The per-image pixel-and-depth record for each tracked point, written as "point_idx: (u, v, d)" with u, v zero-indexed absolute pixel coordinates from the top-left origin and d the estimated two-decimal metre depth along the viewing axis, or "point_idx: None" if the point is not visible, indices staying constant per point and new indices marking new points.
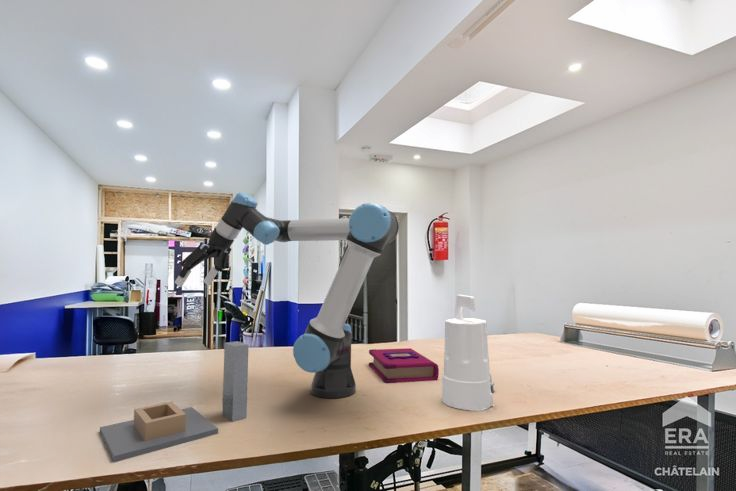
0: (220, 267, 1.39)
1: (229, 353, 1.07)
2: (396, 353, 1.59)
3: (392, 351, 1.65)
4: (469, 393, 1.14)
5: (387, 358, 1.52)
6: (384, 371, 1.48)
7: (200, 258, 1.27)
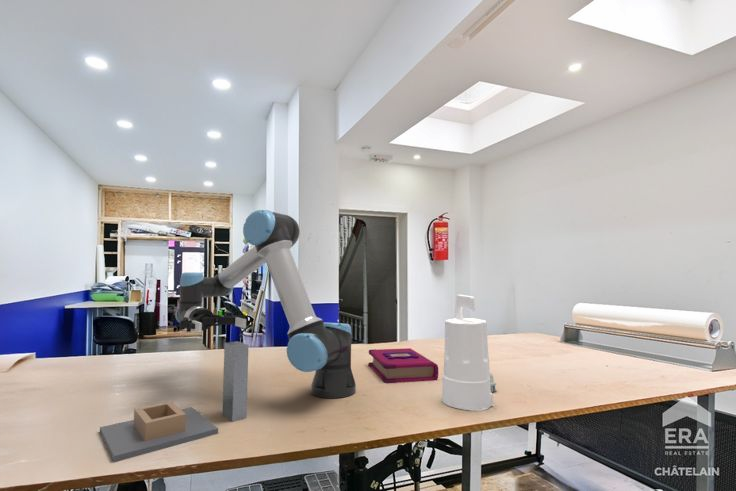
0: (235, 317, 1.27)
1: (229, 353, 1.07)
2: (396, 353, 1.59)
3: (392, 351, 1.65)
4: (469, 393, 1.14)
5: (387, 358, 1.52)
6: (384, 371, 1.47)
7: None
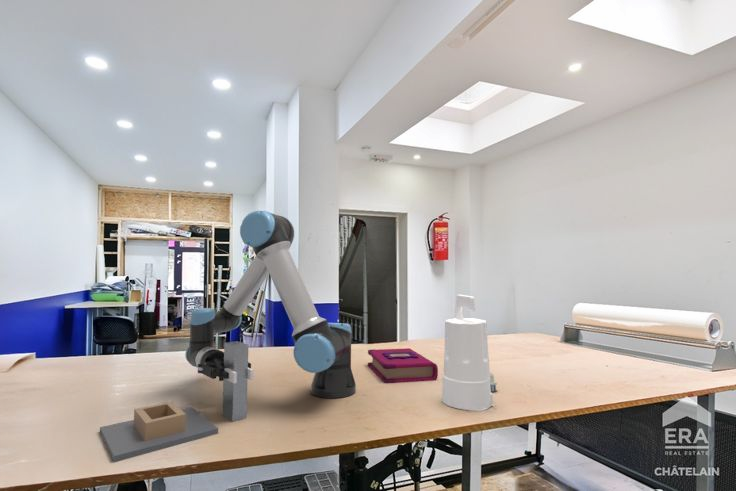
0: None
1: (229, 353, 1.07)
2: (395, 353, 1.58)
3: (391, 351, 1.65)
4: (469, 393, 1.14)
5: (386, 358, 1.52)
6: (383, 371, 1.47)
7: (216, 367, 1.11)
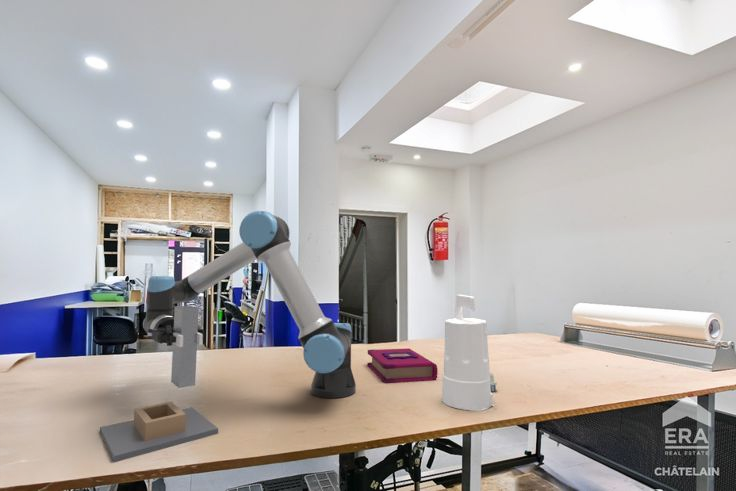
0: None
1: (178, 317, 1.01)
2: (395, 353, 1.58)
3: (391, 351, 1.65)
4: (469, 393, 1.14)
5: (386, 358, 1.52)
6: (383, 371, 1.47)
7: (166, 332, 1.05)
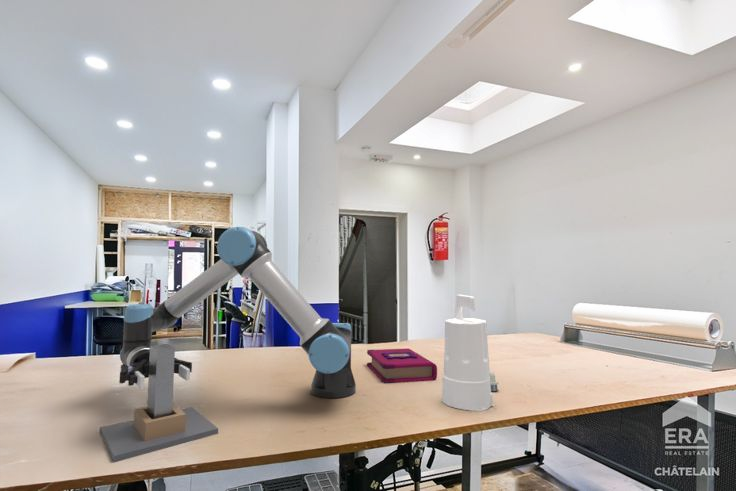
0: (180, 363, 1.04)
1: (153, 358, 0.96)
2: (394, 353, 1.58)
3: (390, 351, 1.65)
4: (469, 393, 1.14)
5: (385, 358, 1.51)
6: (383, 371, 1.47)
7: None
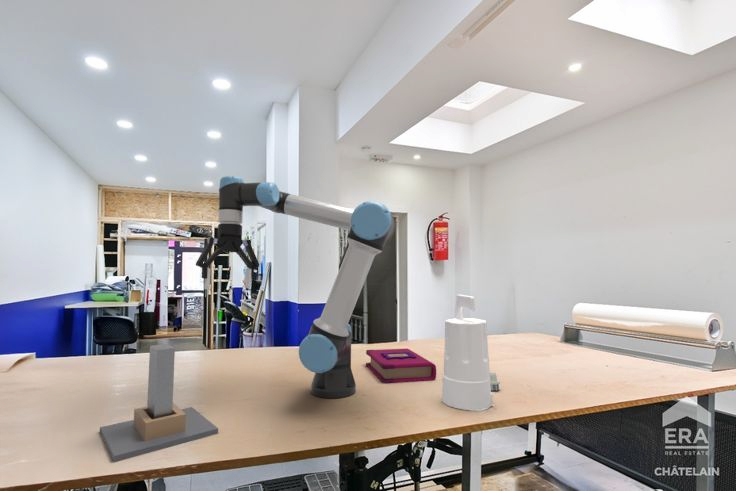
0: (251, 264, 1.30)
1: (153, 358, 0.96)
2: (393, 353, 1.58)
3: (389, 351, 1.65)
4: (469, 393, 1.14)
5: (384, 358, 1.51)
6: (382, 371, 1.47)
7: (214, 253, 1.22)
